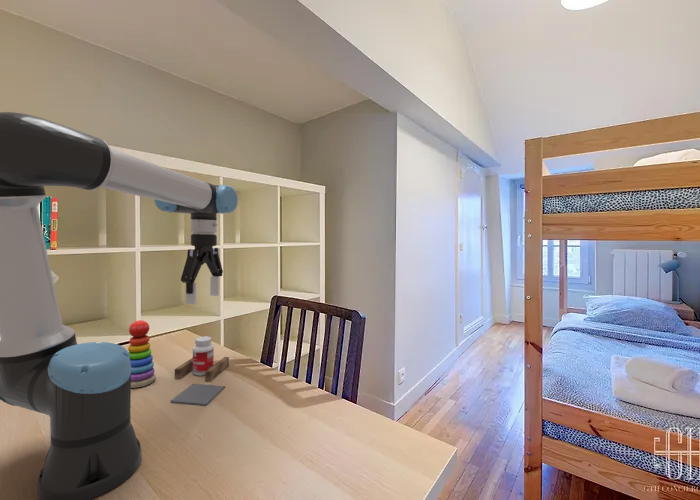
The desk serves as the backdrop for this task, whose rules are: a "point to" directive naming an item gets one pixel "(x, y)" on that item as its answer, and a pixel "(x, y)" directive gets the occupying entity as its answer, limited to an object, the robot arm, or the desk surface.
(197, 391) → the coaster
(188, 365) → the pair of wooden rails
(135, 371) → the stacking toy
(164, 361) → the desk surface
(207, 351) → the pill bottle
